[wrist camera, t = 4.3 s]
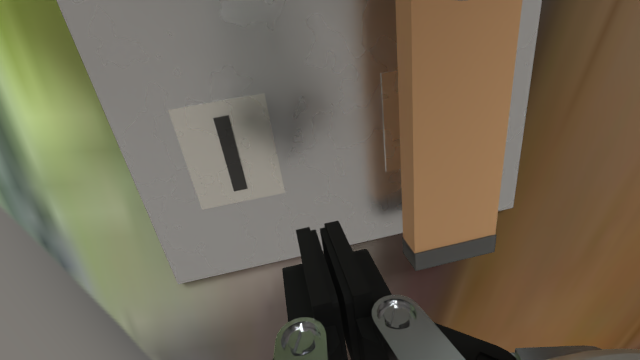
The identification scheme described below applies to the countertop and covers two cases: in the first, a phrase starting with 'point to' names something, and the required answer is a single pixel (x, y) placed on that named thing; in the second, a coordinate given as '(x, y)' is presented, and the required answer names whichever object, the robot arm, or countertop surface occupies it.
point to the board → (262, 119)
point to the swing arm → (453, 123)
